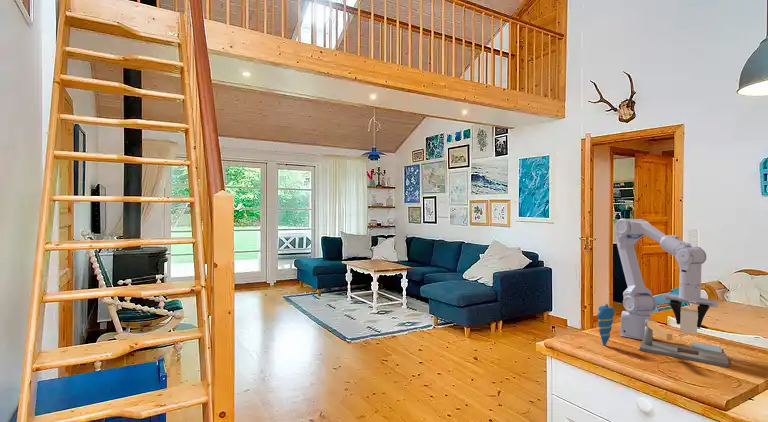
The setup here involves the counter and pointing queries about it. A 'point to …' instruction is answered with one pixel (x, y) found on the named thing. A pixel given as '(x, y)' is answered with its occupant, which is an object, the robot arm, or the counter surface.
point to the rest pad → (706, 347)
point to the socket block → (672, 350)
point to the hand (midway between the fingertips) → (688, 325)
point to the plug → (688, 321)
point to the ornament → (605, 322)
